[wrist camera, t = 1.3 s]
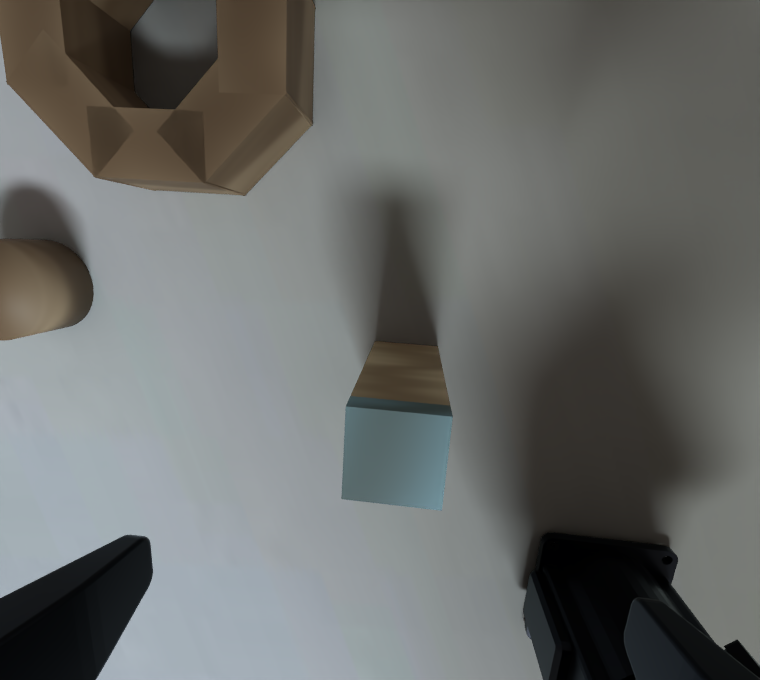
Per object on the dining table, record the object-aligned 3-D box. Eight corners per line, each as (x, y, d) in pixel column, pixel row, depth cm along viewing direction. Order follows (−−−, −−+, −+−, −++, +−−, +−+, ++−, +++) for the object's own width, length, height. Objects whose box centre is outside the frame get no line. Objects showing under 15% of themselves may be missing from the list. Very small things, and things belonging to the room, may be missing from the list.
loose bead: (89, 242, 19) (31, 241, 16) (98, 330, 20) (45, 344, 17) (6, 236, 19) (-66, 235, 17) (19, 323, 20) (-46, 335, 18)
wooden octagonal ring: (317, -86, 15) (288, -182, 12) (311, 200, 18) (286, 188, 14) (64, -87, 16) (-31, -178, 12) (92, 187, 18) (19, 173, 15)
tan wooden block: (437, 346, 19) (452, 416, 11) (431, 404, 19) (441, 510, 12) (375, 341, 19) (346, 406, 11) (371, 399, 20) (341, 499, 12)
